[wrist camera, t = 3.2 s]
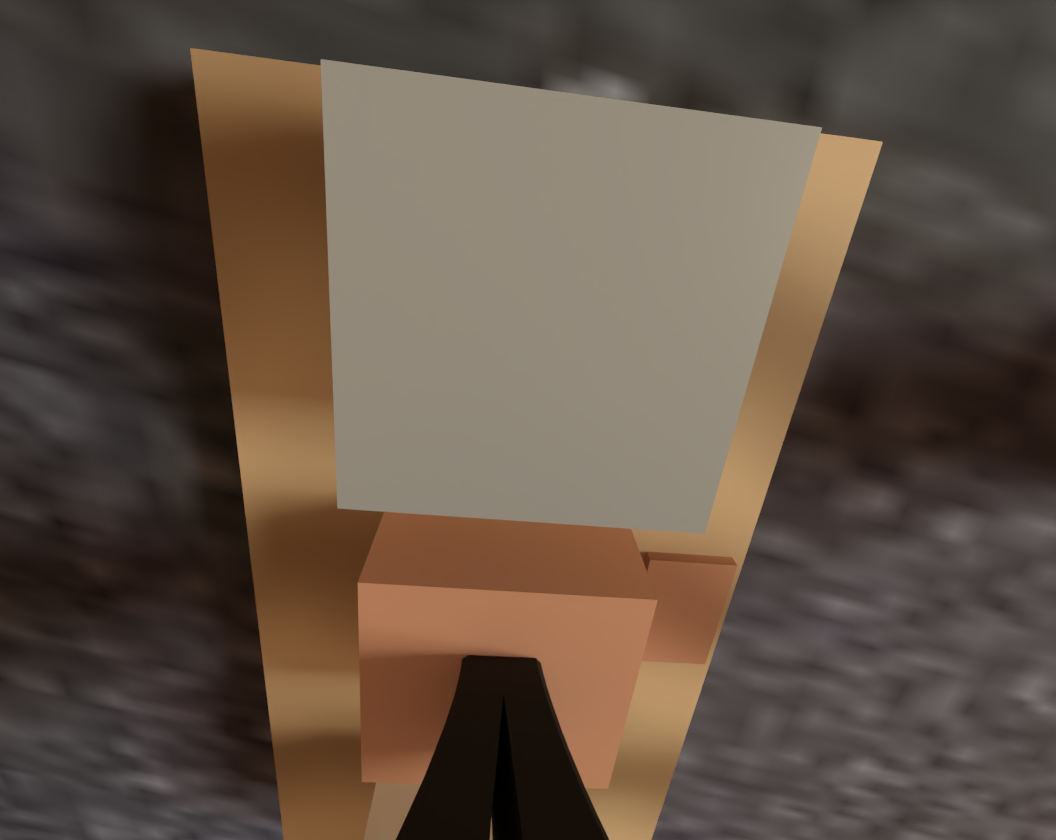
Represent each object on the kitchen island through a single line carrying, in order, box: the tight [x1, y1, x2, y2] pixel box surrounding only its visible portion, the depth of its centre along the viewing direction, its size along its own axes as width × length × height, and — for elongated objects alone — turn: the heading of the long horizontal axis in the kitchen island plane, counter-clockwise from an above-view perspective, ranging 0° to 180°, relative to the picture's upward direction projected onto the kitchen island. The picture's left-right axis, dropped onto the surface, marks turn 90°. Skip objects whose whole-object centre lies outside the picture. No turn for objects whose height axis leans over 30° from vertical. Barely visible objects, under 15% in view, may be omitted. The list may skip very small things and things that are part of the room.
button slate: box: [321, 59, 822, 534], centre depth 7 cm, size 5×5×2 cm
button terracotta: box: [358, 512, 658, 789], centre depth 11 cm, size 5×5×2 cm
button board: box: [190, 48, 883, 840], centre depth 12 cm, size 20×11×3 cm, turn 174°
